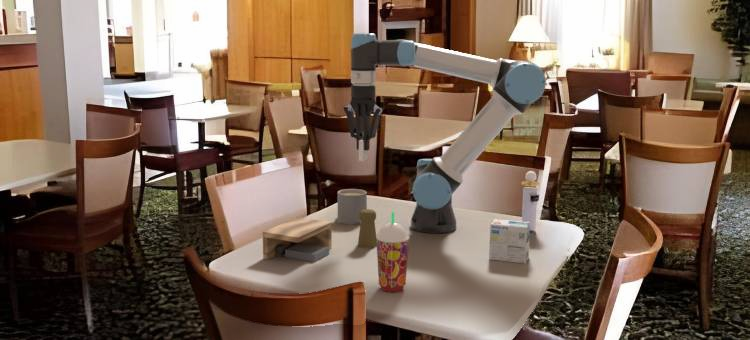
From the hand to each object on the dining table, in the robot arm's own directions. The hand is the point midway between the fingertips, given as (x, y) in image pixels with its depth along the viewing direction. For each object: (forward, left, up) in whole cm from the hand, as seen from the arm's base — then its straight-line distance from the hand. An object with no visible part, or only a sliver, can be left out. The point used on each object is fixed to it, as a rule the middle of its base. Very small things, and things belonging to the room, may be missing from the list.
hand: (362, 160), depth 225 cm
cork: (-6, +8, -25) cm, 27 cm away
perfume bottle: (-45, -31, -25) cm, 60 cm away
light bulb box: (-48, 0, -25) cm, 54 cm away
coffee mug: (+13, -16, -25) cm, 32 cm away
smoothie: (-29, +38, -25) cm, 54 cm away
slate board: (+5, +25, -25) cm, 36 cm away
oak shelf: (+8, +25, -24) cm, 36 cm away
